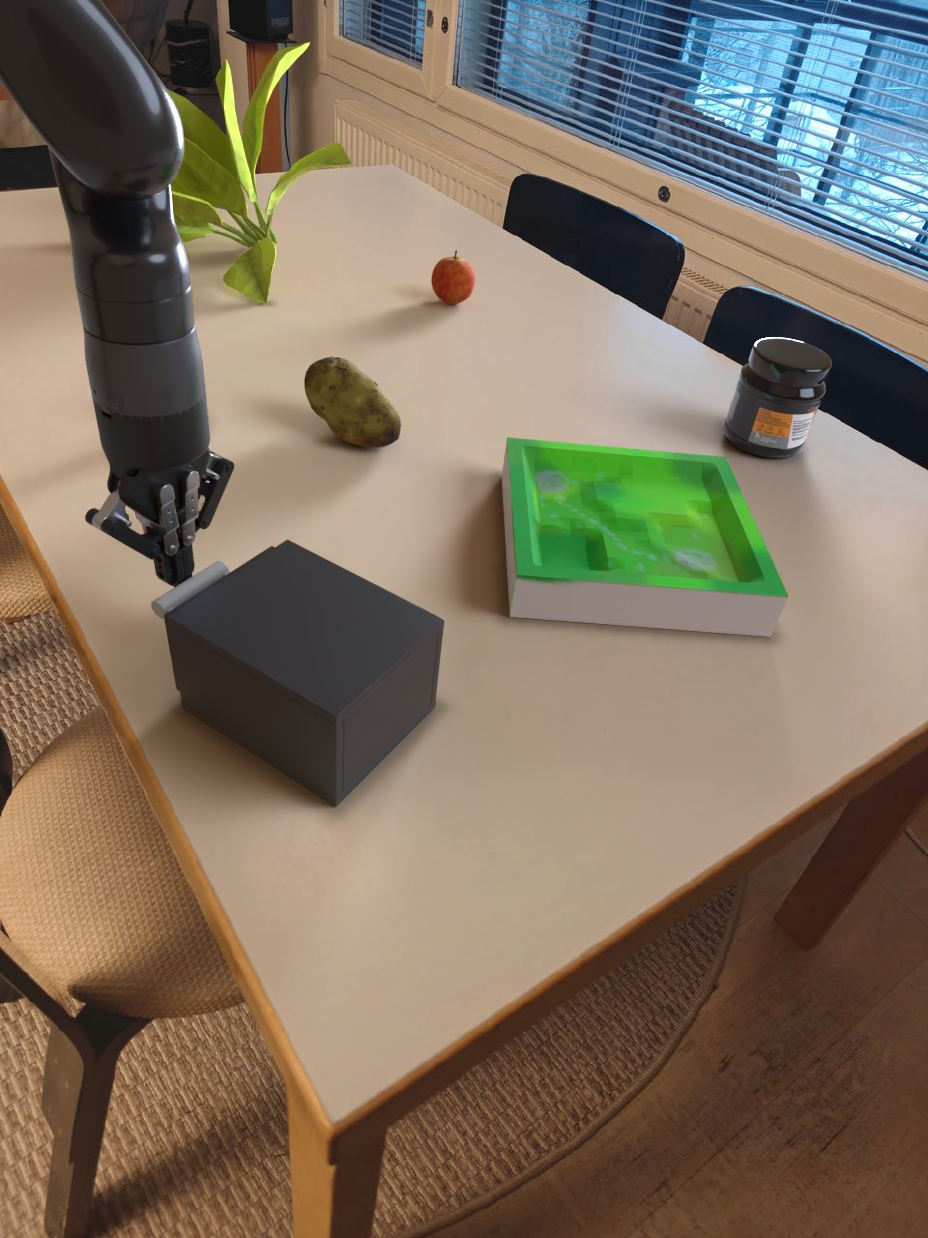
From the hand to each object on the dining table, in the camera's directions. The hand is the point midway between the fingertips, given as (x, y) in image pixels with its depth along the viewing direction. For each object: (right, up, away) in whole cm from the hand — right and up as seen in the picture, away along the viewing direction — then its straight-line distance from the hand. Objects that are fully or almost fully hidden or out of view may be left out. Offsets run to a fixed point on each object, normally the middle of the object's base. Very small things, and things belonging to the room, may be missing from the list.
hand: (176, 580), depth 71 cm
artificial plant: (-17, +56, +72) cm, 92 cm away
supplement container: (+62, +20, +41) cm, 78 cm away
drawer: (+8, -8, -1) cm, 11 cm away
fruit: (+22, +48, +67) cm, 85 cm away
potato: (+10, +19, +33) cm, 39 cm away
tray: (+40, +4, +20) cm, 45 cm away
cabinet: (+11, -10, -2) cm, 15 cm away
